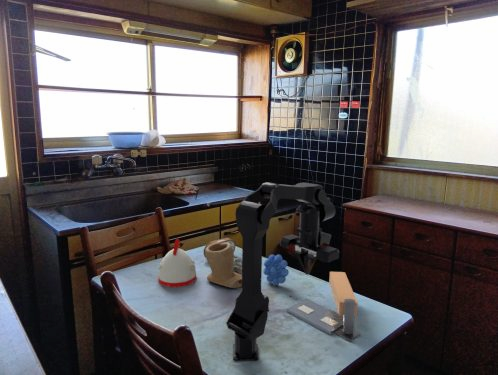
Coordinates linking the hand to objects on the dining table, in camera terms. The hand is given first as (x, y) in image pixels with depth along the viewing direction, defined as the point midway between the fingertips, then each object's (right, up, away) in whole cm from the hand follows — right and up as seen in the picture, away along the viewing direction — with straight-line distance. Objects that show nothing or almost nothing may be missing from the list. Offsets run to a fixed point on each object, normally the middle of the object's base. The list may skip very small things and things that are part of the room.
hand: (307, 274), depth 116 cm
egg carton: (-23, -6, +36) cm, 43 cm away
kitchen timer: (-45, -8, +26) cm, 52 cm away
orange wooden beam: (+11, -12, +1) cm, 16 cm away
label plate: (+3, -13, 0) cm, 14 cm away
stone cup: (-27, -9, +23) cm, 36 cm away
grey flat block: (+10, -15, -9) cm, 20 cm away
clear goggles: (-30, -4, +46) cm, 55 cm away
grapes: (-8, -9, +22) cm, 25 cm away
